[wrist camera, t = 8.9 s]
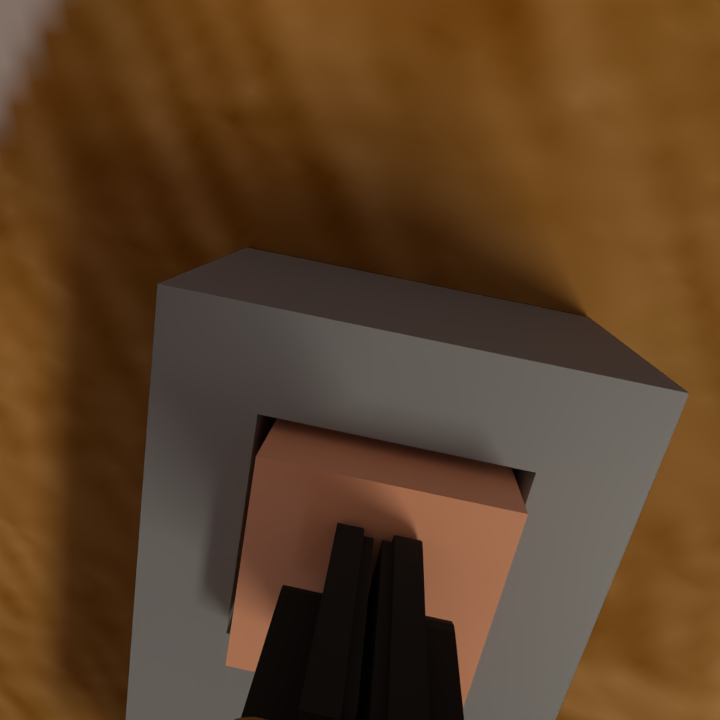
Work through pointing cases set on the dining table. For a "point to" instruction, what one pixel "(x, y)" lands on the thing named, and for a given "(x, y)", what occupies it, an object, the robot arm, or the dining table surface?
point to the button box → (393, 424)
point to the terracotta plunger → (375, 528)
